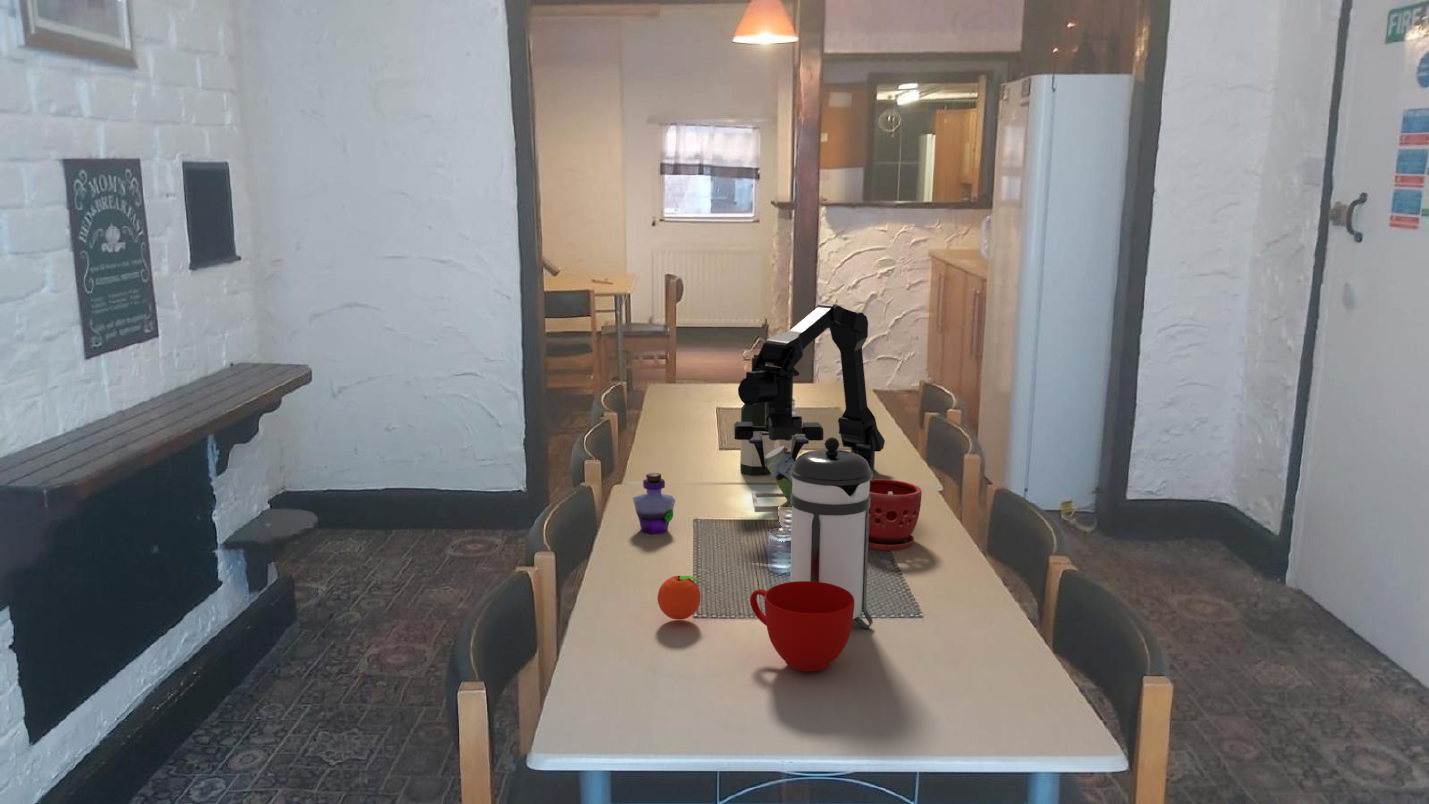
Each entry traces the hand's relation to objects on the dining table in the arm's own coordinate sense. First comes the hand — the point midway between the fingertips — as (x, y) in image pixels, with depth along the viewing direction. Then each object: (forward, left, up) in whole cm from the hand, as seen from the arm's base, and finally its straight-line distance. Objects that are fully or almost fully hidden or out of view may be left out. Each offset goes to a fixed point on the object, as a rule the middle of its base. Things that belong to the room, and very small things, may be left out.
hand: (777, 470), depth 231 cm
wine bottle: (-24, -3, -9) cm, 26 cm away
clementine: (+60, -20, -9) cm, 64 cm away
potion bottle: (+16, -26, -9) cm, 32 cm away
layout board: (0, +11, -9) cm, 14 cm away
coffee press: (+60, +3, -9) cm, 60 cm away
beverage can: (-1, +5, -7) cm, 8 cm away
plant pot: (+24, +19, -9) cm, 32 cm away
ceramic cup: (+75, -3, -9) cm, 76 cm away
